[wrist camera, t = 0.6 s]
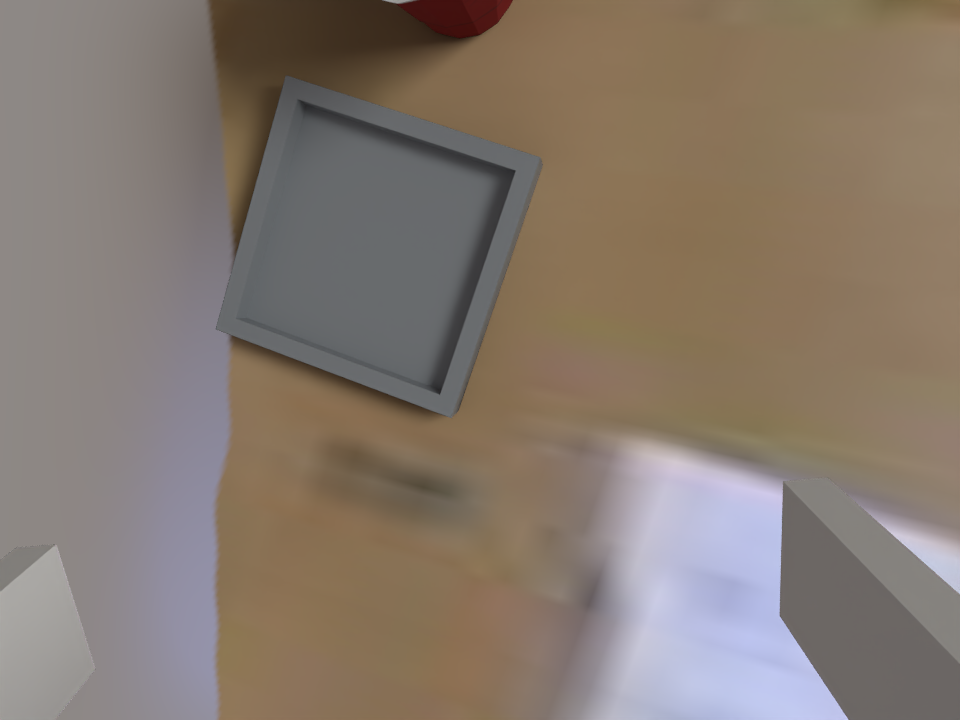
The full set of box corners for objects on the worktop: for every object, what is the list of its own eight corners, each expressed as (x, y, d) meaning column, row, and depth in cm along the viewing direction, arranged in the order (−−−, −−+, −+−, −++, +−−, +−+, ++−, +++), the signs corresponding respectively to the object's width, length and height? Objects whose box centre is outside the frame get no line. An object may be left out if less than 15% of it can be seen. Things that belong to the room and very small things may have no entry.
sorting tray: (301, 86, 37) (285, 75, 35) (542, 164, 35) (540, 157, 33) (233, 327, 39) (215, 329, 37) (458, 411, 38) (451, 417, 36)
